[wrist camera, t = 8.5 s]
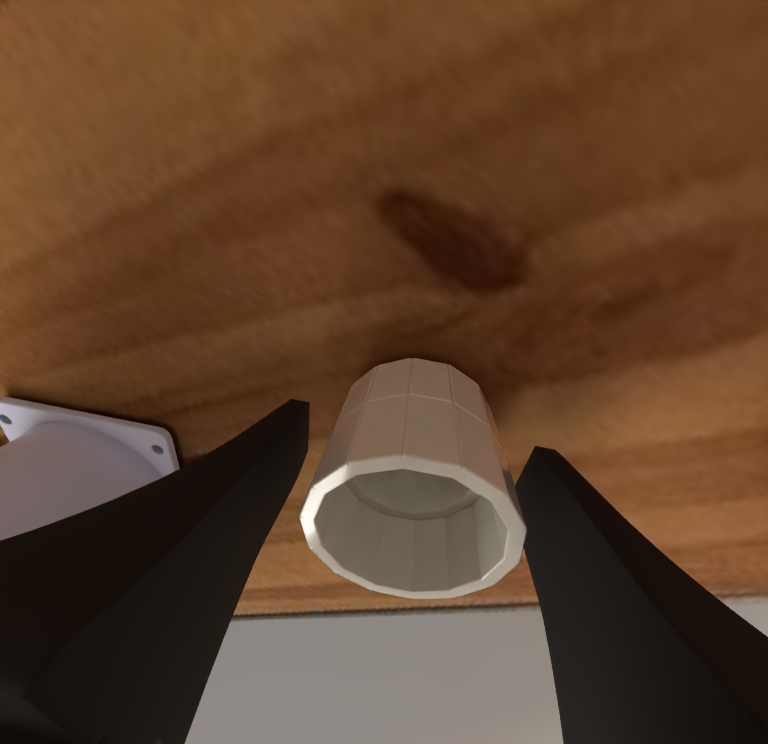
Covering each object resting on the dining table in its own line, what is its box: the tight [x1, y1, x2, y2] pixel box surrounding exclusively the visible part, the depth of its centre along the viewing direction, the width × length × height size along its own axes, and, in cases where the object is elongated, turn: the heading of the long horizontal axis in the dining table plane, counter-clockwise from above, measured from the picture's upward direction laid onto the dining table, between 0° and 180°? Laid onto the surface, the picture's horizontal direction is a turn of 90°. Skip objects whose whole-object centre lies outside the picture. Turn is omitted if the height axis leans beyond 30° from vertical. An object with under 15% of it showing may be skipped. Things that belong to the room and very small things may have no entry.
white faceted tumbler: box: [299, 358, 527, 599], centre depth 10 cm, size 5×5×5 cm
